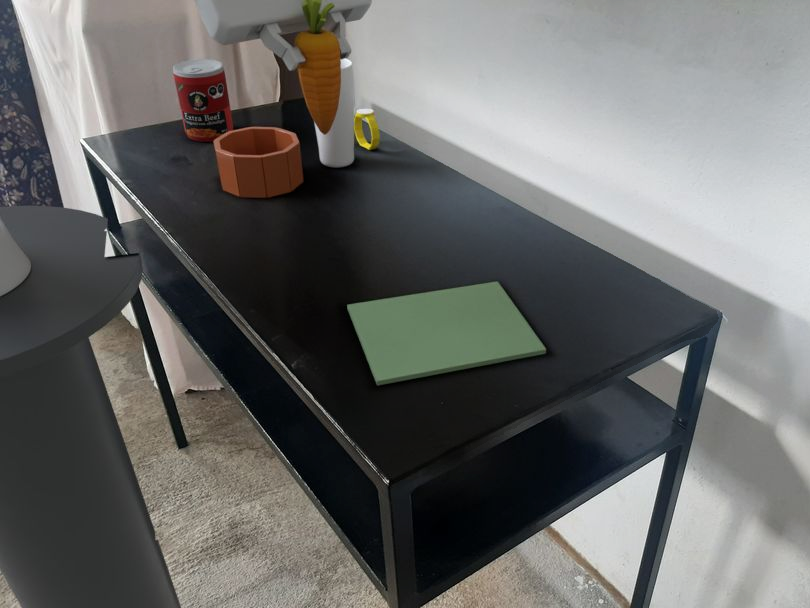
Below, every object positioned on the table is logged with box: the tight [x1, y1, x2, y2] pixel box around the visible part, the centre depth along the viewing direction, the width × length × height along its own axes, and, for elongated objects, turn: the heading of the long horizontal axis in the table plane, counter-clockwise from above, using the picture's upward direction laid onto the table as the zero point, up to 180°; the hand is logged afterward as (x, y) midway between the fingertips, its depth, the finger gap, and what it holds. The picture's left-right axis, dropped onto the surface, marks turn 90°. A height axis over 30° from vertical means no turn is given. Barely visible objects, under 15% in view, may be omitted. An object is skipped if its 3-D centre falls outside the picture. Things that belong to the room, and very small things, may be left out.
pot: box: [213, 126, 304, 199], centre depth 106 cm, size 12×12×6 cm
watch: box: [354, 108, 381, 151], centre depth 117 cm, size 6×3×6 cm, turn 37°
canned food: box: [172, 58, 234, 143], centre depth 118 cm, size 8×8×11 cm
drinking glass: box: [313, 58, 356, 169], centre depth 109 cm, size 7×7×15 cm
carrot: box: [294, 0, 341, 135], centre depth 81 cm, size 5×5×15 cm
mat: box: [346, 281, 547, 386], centre depth 78 cm, size 18×14×1 cm
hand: (322, 61), depth 80 cm, fingers closed on carrot, 5 cm apart
